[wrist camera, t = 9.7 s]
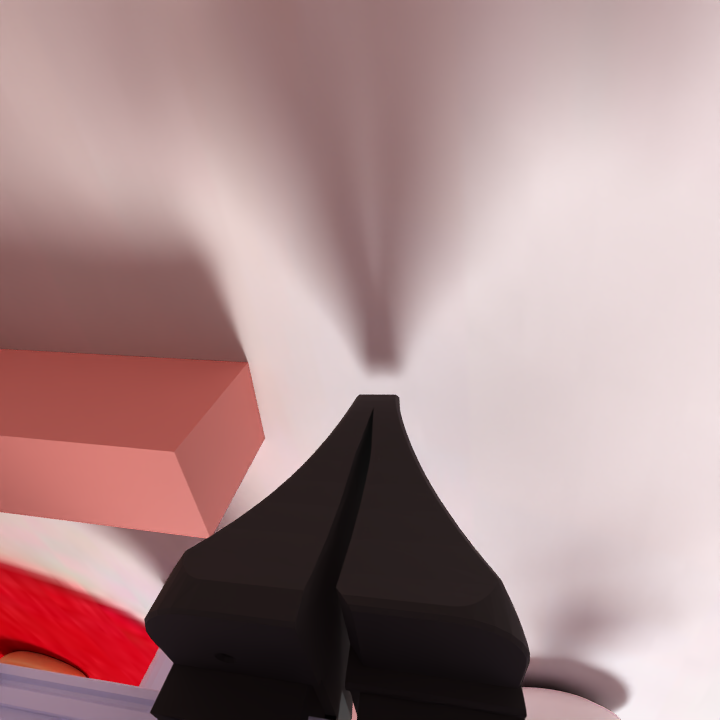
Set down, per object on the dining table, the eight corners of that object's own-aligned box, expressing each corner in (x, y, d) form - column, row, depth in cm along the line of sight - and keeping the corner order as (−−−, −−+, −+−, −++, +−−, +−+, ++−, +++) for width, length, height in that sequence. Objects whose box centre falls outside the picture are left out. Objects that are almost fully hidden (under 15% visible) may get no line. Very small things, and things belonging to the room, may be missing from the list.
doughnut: (105, 690, 43) (78, 738, 40) (25, 669, 44) (-10, 714, 40) (83, 659, 38) (49, 712, 34) (-9, 636, 38) (-53, 685, 34)
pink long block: (267, 434, 15) (210, 538, 11) (-58, 407, 18) (-209, 485, 13) (250, 359, 13) (173, 452, 9) (-114, 339, 16) (-312, 406, 11)
